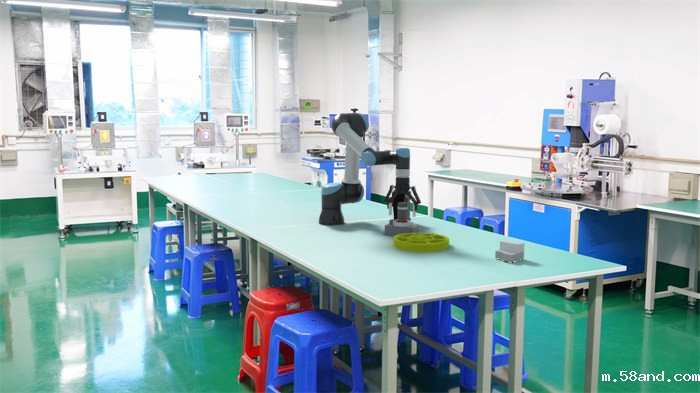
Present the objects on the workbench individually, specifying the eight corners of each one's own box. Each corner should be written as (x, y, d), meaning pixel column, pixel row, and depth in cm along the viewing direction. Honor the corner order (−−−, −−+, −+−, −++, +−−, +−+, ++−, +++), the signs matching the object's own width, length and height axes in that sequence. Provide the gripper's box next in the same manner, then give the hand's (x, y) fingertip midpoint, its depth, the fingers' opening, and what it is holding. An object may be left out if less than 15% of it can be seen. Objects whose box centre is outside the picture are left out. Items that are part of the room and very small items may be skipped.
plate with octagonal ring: (384, 234, 339) (384, 221, 338) (391, 231, 349) (391, 218, 348) (412, 237, 333) (413, 224, 332) (419, 233, 343) (419, 220, 342)
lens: (395, 225, 339) (396, 203, 337) (399, 223, 344) (399, 202, 342) (405, 226, 337) (405, 204, 335) (408, 224, 342) (409, 202, 340)
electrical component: (407, 227, 360) (408, 192, 357) (390, 226, 362) (390, 192, 359) (411, 221, 377) (411, 188, 374) (394, 221, 379) (394, 188, 376)
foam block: (492, 260, 285) (493, 243, 284) (505, 257, 293) (505, 239, 291) (511, 264, 279) (512, 246, 277) (523, 260, 286) (524, 242, 285)
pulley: (383, 243, 320) (383, 233, 320) (430, 238, 331) (431, 229, 331) (409, 255, 295) (409, 244, 294) (460, 249, 306) (460, 239, 305)
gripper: (378, 176, 338) (378, 215, 341) (422, 178, 328) (422, 218, 331) (383, 175, 345) (383, 213, 348) (427, 177, 335) (426, 216, 338)
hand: (402, 215), depth 340 cm, fingers open, 13 cm apart
